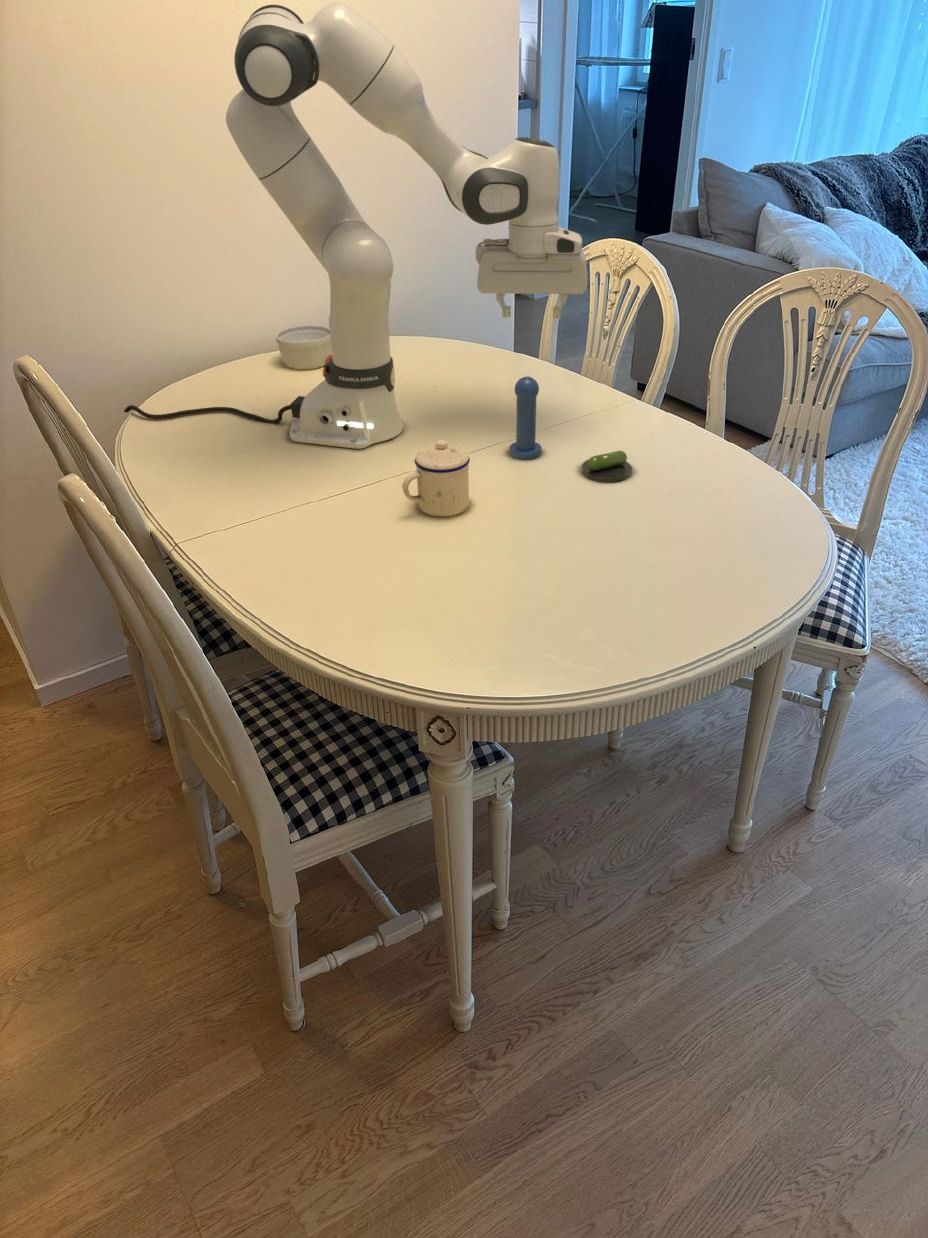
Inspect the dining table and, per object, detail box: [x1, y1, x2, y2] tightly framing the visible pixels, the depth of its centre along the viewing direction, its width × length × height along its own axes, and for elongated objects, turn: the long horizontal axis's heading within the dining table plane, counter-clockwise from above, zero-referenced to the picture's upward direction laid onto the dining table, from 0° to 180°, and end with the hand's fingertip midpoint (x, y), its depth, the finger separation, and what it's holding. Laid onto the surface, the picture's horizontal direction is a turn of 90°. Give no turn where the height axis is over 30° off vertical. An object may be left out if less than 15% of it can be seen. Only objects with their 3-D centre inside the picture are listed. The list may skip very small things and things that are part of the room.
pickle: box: [581, 450, 633, 483], centre depth 164 cm, size 9×9×3 cm
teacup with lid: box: [402, 439, 471, 517], centre depth 151 cm, size 12×9×12 cm
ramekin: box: [275, 324, 332, 371], centre depth 215 cm, size 13×13×7 cm
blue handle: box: [509, 376, 543, 461], centre depth 168 cm, size 6×6×15 cm
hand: (531, 316), depth 171 cm, fingers open, 8 cm apart
